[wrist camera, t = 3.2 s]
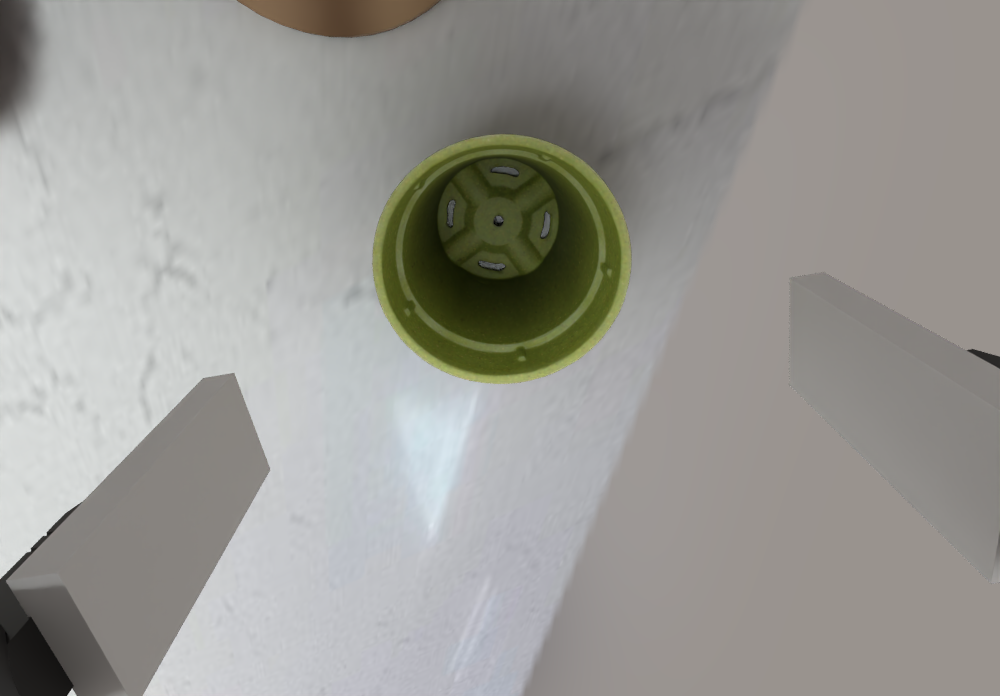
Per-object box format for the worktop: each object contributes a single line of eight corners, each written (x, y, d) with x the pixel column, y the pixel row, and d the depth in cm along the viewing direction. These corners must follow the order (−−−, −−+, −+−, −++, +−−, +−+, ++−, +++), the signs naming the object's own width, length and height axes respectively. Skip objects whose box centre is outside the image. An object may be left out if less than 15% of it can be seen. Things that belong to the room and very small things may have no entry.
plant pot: (578, 318, 33) (607, 394, 25) (397, 302, 32) (368, 375, 24) (608, 131, 29) (655, 149, 21) (405, 108, 29) (375, 119, 21)
